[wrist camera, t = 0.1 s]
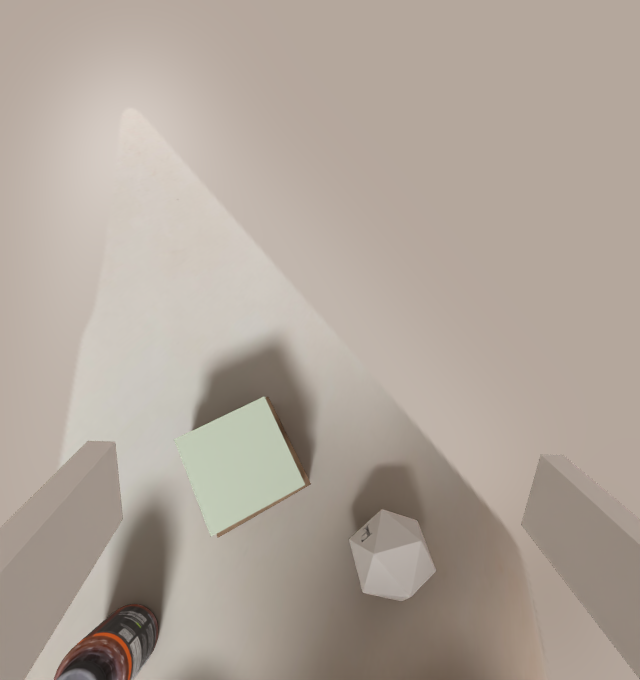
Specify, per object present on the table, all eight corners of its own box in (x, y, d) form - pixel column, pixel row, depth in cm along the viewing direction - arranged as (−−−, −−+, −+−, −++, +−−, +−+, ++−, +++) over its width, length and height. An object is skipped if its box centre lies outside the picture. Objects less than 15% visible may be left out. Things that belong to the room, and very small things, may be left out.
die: (408, 500, 45) (378, 489, 38) (458, 568, 40) (434, 570, 32) (361, 543, 46) (323, 540, 39) (404, 616, 40) (368, 628, 33)
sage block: (303, 483, 40) (305, 485, 36) (218, 529, 38) (210, 536, 34) (266, 402, 43) (264, 396, 39) (184, 441, 41) (174, 439, 37)
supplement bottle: (93, 667, 37) (14, 749, 26) (110, 599, 39) (43, 650, 28) (152, 672, 37) (98, 755, 27) (166, 604, 39) (120, 656, 29)
